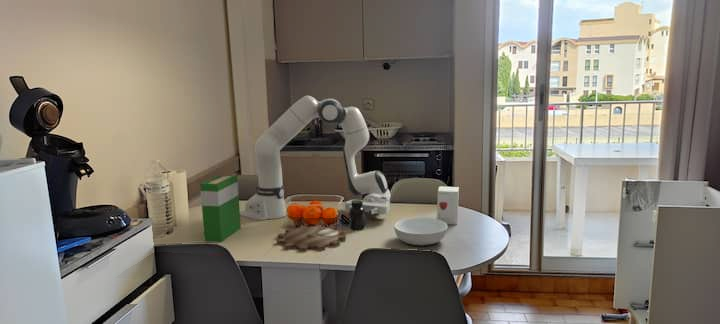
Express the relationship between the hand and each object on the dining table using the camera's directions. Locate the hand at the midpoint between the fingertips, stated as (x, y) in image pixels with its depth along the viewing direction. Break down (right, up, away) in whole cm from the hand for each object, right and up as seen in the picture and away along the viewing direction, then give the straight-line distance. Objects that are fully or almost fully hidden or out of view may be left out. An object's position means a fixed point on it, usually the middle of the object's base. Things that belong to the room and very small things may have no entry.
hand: (360, 211), depth 214 cm
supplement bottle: (-1, -7, -2) cm, 8 cm away
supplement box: (+39, -5, +5) cm, 40 cm away
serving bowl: (+24, -10, -19) cm, 32 cm away
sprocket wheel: (-20, -10, -15) cm, 27 cm away
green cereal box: (-58, -9, -7) cm, 59 cm away
